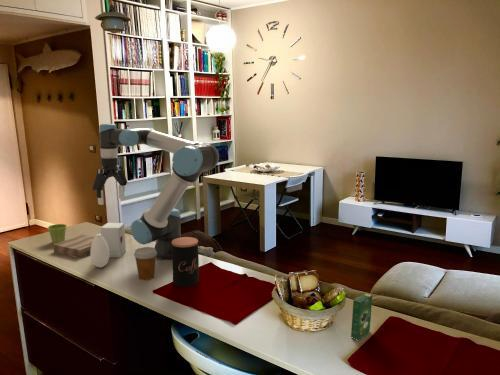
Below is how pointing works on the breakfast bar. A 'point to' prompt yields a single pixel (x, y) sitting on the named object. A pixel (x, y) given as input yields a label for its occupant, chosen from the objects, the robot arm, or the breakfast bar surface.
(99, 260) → the white teardrop-shaped piece
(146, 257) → the disposable coffee cup
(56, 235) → the plant pot
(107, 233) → the supplement box
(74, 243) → the walnut riser
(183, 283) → the coffee jar
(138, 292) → the breakfast bar surface
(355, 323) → the coffee box
